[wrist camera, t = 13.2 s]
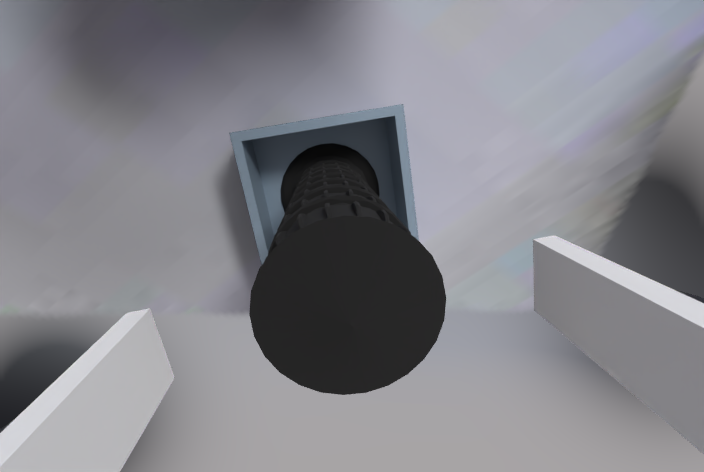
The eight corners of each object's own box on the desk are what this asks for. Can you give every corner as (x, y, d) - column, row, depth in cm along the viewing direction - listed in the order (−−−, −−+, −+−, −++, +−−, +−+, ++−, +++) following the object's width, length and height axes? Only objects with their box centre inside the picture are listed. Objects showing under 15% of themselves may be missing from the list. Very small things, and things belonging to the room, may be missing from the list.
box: (243, 132, 36) (229, 132, 30) (390, 108, 36) (403, 104, 31) (276, 270, 40) (268, 293, 34) (407, 246, 41) (421, 265, 35)
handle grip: (260, 201, 37) (337, 259, 39) (127, 353, 12) (367, 493, 14) (323, 121, 35) (399, 187, 38) (330, 94, 10) (561, 302, 12)
